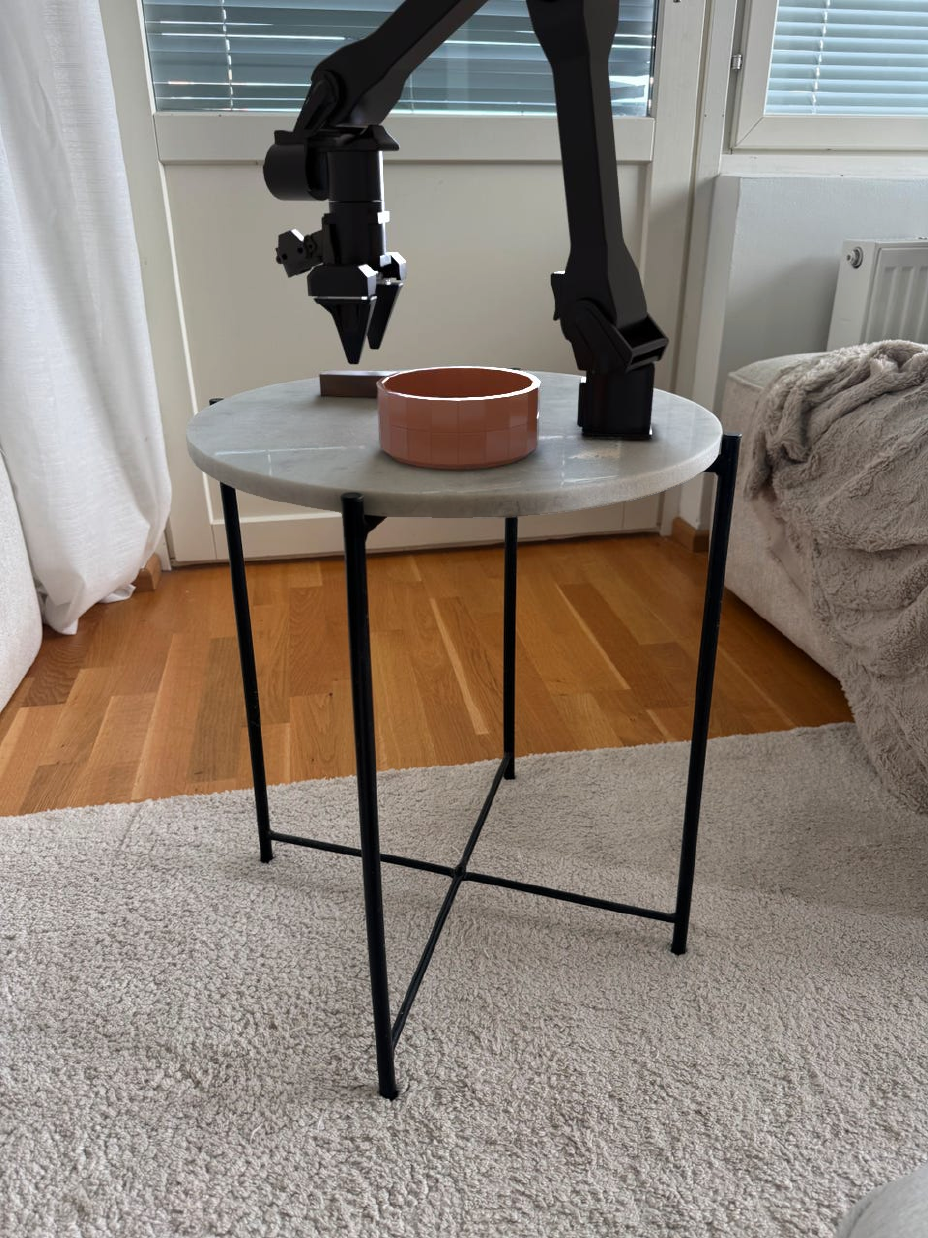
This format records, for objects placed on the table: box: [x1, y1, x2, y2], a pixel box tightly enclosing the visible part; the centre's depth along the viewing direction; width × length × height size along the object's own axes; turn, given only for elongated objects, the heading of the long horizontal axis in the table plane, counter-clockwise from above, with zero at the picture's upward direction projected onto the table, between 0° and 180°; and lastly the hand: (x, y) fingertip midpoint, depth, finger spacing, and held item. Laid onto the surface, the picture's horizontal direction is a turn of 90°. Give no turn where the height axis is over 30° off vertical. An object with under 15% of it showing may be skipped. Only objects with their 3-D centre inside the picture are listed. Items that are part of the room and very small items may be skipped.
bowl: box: [376, 365, 541, 471], centre depth 81 cm, size 14×14×6 cm
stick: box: [318, 369, 399, 398], centre depth 103 cm, size 10×2×2 cm, turn 81°
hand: (364, 356), depth 101 cm, fingers open, 9 cm apart
